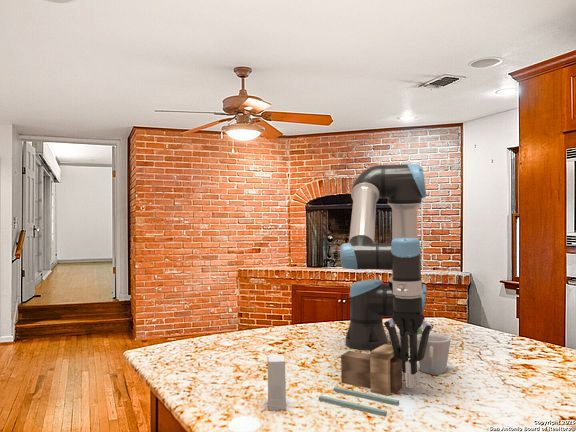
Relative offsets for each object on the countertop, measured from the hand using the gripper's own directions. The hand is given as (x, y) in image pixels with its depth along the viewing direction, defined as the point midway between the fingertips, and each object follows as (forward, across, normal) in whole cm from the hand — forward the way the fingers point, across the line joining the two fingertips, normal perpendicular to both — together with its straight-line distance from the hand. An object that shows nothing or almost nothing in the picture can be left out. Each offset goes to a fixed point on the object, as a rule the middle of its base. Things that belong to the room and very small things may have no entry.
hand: (410, 385), depth 130 cm
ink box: (+2, -22, +62) cm, 66 cm away
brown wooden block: (+2, -11, 0) cm, 11 cm away
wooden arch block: (+2, -7, 0) cm, 7 cm away
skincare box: (+2, -25, -26) cm, 36 cm away
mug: (+2, -1, +20) cm, 20 cm away
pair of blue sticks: (+2, -9, -13) cm, 16 cm away
